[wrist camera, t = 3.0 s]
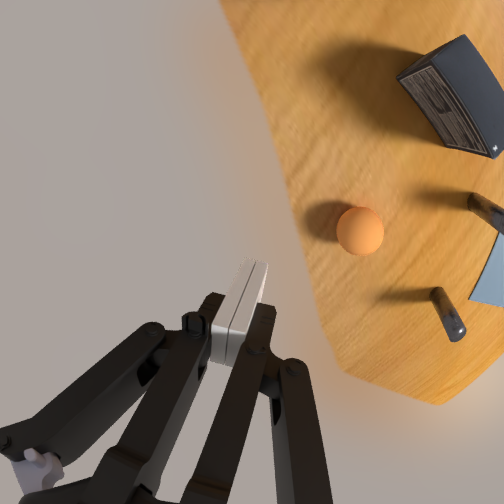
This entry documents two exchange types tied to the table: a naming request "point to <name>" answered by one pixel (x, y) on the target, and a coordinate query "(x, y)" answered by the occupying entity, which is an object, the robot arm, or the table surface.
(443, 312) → the post
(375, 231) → the ball
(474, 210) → the post
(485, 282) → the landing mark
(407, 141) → the table surface
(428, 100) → the small box
